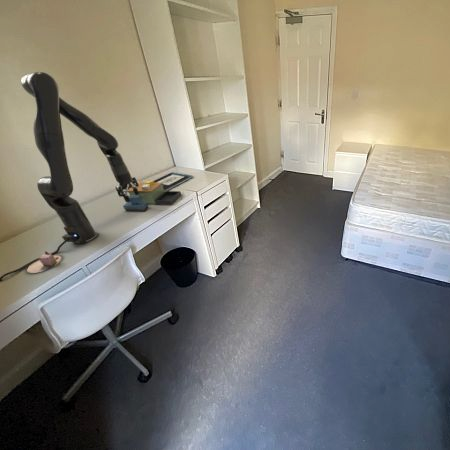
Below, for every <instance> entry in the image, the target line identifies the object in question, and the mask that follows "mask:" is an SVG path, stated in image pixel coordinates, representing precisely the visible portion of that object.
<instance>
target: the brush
mask: <svg viewBox="0 0 450 450" xmlns="http://www.w3.org/2000/svg"><path fill="white" fill-rule="evenodd" d="M128 197H129V200H130V201H129V202H125V204H123V205H122V207H123V209H124V210H125V212H146V211H147V210H148V209H149V208H150V207H149V204H148V203H147V202H141V201H142V199H141V196H130V195H128Z"/></svg>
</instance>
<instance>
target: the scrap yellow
mask: <svg viewBox="0 0 450 450" xmlns="http://www.w3.org/2000/svg"><path fill="white" fill-rule="evenodd" d="M144 183H145V184H150V186H151V185H153V184H155V183H154V180H152V179H149V180H147V181H144Z"/></svg>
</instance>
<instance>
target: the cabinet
mask: <svg viewBox="0 0 450 450" xmlns="http://www.w3.org/2000/svg"><path fill="white" fill-rule="evenodd" d="M144 182H145V181H144ZM144 182H143V181H140V182H139V181H138V182H137V183H138V185H139V186H138V187H137V190H138V192H139V194H138V195H135V193H134V191H133V188H130V189H129V190H128V192H127V193H128V195H129V196H141V199H142V201H141V202H147V203H148V205H156V203H155V201H154V200H155V199H157V198H158V197H159V196H160V195H162V194H163V193H164V192H165V191H164V189H163V186H162V184H163V183H160V182H154V183H155V184H153V185H151V187H150V188H149V190H142V188H141V187H142V186H143V185H145V183H144Z"/></svg>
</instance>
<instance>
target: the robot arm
mask: <svg viewBox="0 0 450 450" xmlns="http://www.w3.org/2000/svg"><path fill="white" fill-rule="evenodd" d="M20 85H21V87H22V88H23V89H24V91H25V92H27V93H28V94H29V95H31V96H32V97H34V98H35V105H36V112H35V116H34V121H33V127H32V128H33V129H32V130H33V135H34V142H35V146H36V148H37V149H38V151H39V153H40V155H42V157H43V158H44V160H45V161H46V163H47V165H48V167H49V172H50V175H49V176H43V177H41V178H39V179H38V180H37V185H36V186H37V190H38V192H39V194H40V195H41V196H42V199H44V201H45V202H46V203H47V205H48V206H49V207H50V208H51V209H52V210H54V212H55V213H56V214H57V216H58V217H59V219H60V221H61V223H62V224H63V229H64V231H65V234H64V235H62V236H61V238H62V240H63V242H61V243H60V244H59V245H58V247H57V249H56V250H55V251H53V252H51V253H50V254H52V255H53V256H54V255H56V254H57V253H58V252H59V251H60V249H61V248H62V247H63V246H64V245H65V244H66V243H73V244H84V245H85V244H86V243H88V242H91V241H93V240H95V238H97V236H98V234H97V232H96V230H95V228H94V227H93V225H92V223H91V222H90V220H89V218H88V217H87V215H86V213H85V211H84V210H83V208H82V206H81V204H80V203H79V201H78V200H77V199H75V198H73V197H71V196H72V194H73V192H74V184H73V183H74V182H73V179H72V175H71V171H70V168H69V163H68V157H67V153H66V145H65V138H64V131H63V124H62V119H61V116H62V117H64V118H65V119H66V120H68V121H69V122H70V123H72V124H73V125H74V126H76V127H77V128H78V129H79V130H80V131H82V132H83V133H84V134H85V135H87V136H88V137H91V138H93V139H94V140H95V141H96V143H97V146H98V148H99V149H100V151H101V152H102V154H103V155H104V156H105V158H106V160H107V163H108V165H109V166H110V167H109V168H110V170H111V172H112V174H113V176H114V178H115V181H116V182H117V183H118V184H119V185H118V186H117V185H116V186H115V190H116V192H117V194H118V197H122V198H123V199H124V201H125V203H127V202H129V201H130V200H129V197H128V196H129V194H128V193H129V192H128V190H129V189H130V188H133V191H134V193H135V195H138V194H139V192H138V190H137V187H138V186H139V185H138V183H139V182H138V180H137V179H136V177H135V176H134V177H133V176H132V175H131V172H130V170H129V167H128V165H127V164H126V162H125V160H124V158H123V155H122V153H120V152H118V150H117V149H118V147H119V141H118V140H117V139H116V137H115V136H113V135H112V134H111V133H110V132H108V131H107V130H105V129H104V128H102V127H101V126H100V125H99V124H98V123H97V122H96V121H95V120H93V119H92V118H90V116H89V115H87V114H86V113H84V112H83V111H81V110H80V109H78V108H76V107H75V106H73V105H72V104H70V103H68V102H67V101H66V100H64V99H63V98H61V97H60V90H59V85H58V83H57V81H56V79H55V78H54V77H53V76H52V75H50V74H48V73H46V72H44V71H34V72H30V73H27V74H24V75H22V77H21V78H20ZM38 258H39V257H37V258H36V259H33V260H31V261H29V262H27V263H26V264H24V265H23V266H21V267H18V268H17V269H14V270H12V271H11V270H10V271H8V272H5V273H3V274H2V275H1V276H0V282H1V281H2V280H3V278H5V277H6V276H9V275H11V274H14V273H17V272H19V271H21V270H23V269H25V268H28V267H29V266H30V265H31V264H33V263H34V262H36V261H38V260H39V259H38ZM31 329H32V330H36V327H35V325H33V327H31Z"/></svg>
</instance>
